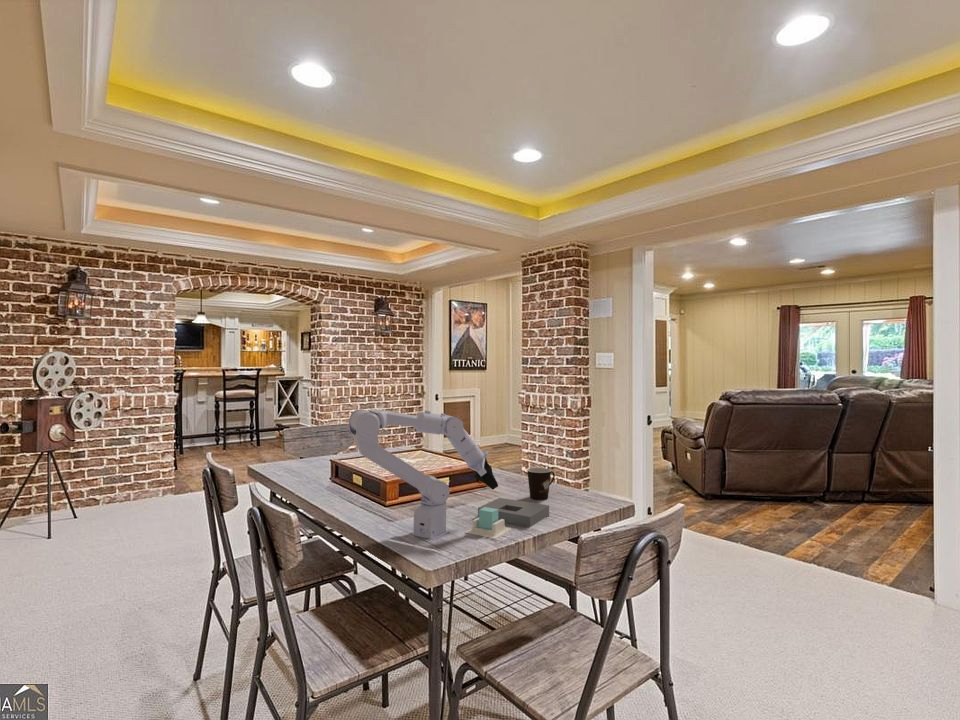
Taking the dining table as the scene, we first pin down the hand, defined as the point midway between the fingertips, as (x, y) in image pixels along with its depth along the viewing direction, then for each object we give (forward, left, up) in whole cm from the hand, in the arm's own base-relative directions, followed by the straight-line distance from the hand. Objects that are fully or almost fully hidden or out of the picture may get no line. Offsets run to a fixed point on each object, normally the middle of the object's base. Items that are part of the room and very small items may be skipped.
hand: (492, 481), depth 157 cm
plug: (-7, -3, -12) cm, 15 cm away
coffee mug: (+36, -1, -13) cm, 38 cm away
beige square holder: (-7, -3, -13) cm, 15 cm away
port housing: (+9, -3, -13) cm, 16 cm away
